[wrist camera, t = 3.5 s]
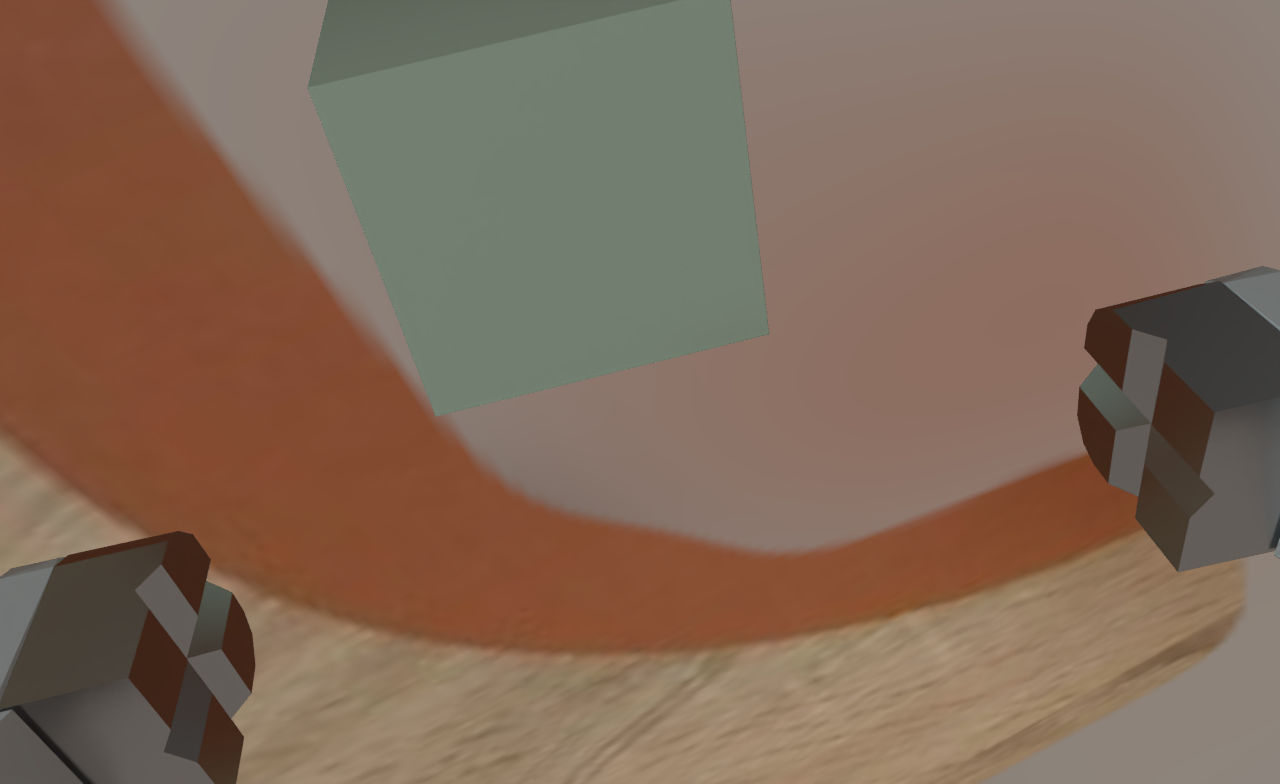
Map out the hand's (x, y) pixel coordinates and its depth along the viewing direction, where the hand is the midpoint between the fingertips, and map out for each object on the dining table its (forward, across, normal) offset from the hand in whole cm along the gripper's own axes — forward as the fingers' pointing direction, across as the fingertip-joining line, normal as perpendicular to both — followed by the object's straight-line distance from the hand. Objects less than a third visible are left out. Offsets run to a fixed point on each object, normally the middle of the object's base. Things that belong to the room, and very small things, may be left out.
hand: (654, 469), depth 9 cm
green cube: (+10, 0, 0) cm, 10 cm away
